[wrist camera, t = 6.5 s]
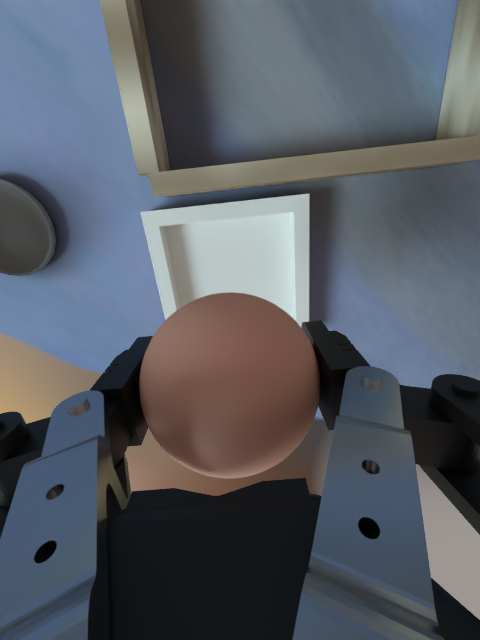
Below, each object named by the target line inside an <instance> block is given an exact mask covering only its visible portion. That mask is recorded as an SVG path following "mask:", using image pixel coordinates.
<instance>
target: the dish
mask: <svg viewBox="0 0 480 640" xmlns="http://www.w3.org/2000/svg"><path fill="white" fill-rule="evenodd" d="M141 217H142V221H143V225H144V229H145V234H146V238H147V242H148V247H149V251H150V255H151V260H152V264H153V268H154V273H155V277H156V281H157V286H158V290H159V294H160V299H161V303H162V307H163V312H164V316H165V320H166V319H167V318H168V317H169V316H171V315H172V314H173V313H174V312H175V311H177V310H178V309H180V308H181V307H183V306H184V305H186V304H188V303H189V302H191V301H194V300H196V299H198V298H201V297H204V296H207V295H211V294H217V293H229V292H235V293H245V294H249V295H254V296H257V297H260V298H263V299H266V300H268V301H270V302H271V303H273V304H275V305H277V306H278V307H280V308H281V309H282V310H284V311H285V312H287V313H288V314H289V315H290V316H291V317H292V318H293V319H294V320H295V321H296V322H297V323H298V324H299V326H300V327H301V326H302V322H308V321H309V194H301V195H291V196H282V197H273V198H264V199H255V200H246V201H237V202H228V203H219V204H209V205H200V206H191V207H182V208H173V209H164V210H155V211H146V212H141Z"/></svg>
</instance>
